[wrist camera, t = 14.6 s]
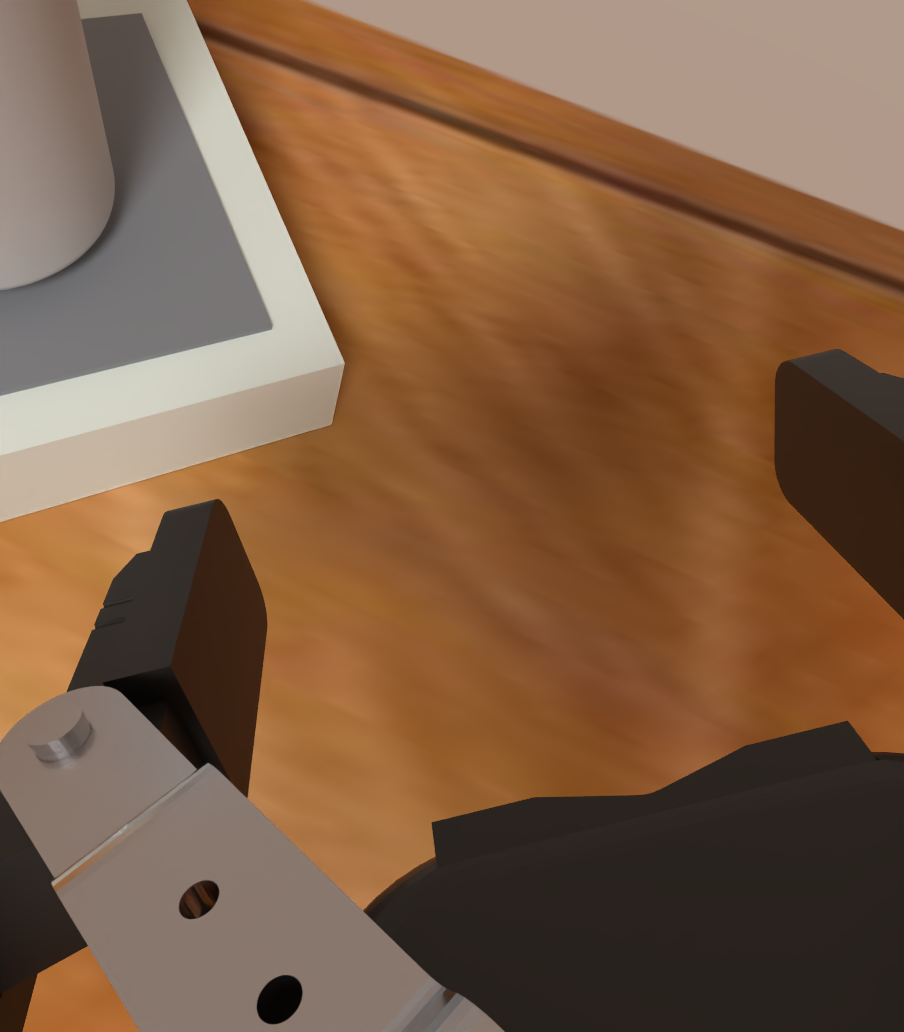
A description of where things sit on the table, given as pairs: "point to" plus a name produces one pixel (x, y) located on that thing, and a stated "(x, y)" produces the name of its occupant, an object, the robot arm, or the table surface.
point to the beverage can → (48, 142)
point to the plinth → (161, 291)
